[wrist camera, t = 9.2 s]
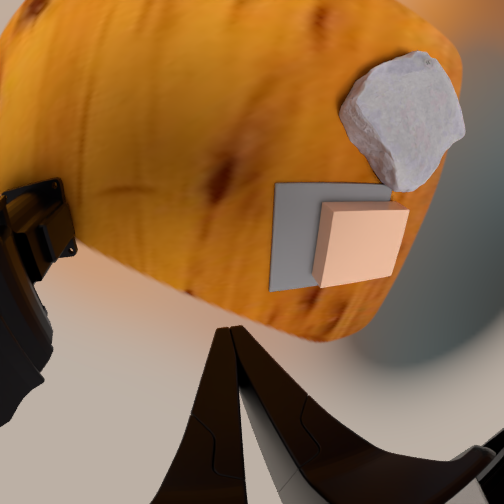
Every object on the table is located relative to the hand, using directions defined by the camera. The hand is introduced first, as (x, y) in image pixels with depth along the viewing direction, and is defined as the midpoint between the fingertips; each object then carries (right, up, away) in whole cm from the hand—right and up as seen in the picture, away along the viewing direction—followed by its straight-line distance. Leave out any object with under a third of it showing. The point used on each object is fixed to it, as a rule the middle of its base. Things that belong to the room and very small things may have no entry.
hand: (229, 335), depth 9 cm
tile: (+6, +3, +13) cm, 15 cm away
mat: (+8, +4, +15) cm, 17 cm away
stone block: (+13, +15, +10) cm, 23 cm away
